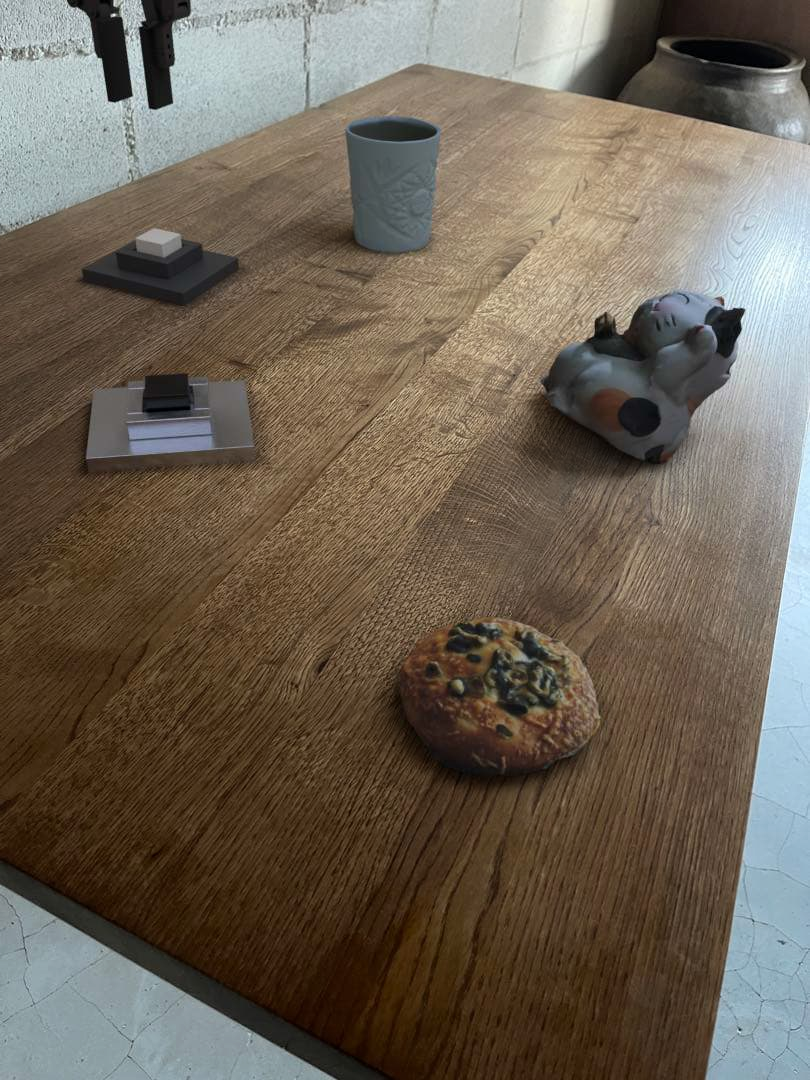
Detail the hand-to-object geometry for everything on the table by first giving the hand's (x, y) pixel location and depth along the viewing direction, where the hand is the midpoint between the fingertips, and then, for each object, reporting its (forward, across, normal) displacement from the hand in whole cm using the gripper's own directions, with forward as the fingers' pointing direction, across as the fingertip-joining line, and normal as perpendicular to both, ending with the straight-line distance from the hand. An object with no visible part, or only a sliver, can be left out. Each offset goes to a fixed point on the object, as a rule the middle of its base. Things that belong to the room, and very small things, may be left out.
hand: (140, 101), depth 84 cm
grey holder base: (+17, -18, +24) cm, 34 cm away
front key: (+14, -18, +24) cm, 33 cm away
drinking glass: (+17, -16, -21) cm, 31 cm away
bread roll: (+17, -50, +39) cm, 66 cm away
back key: (+14, 0, 0) cm, 14 cm away
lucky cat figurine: (+17, -49, +6) cm, 52 cm away
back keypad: (+17, 0, 0) cm, 17 cm away
